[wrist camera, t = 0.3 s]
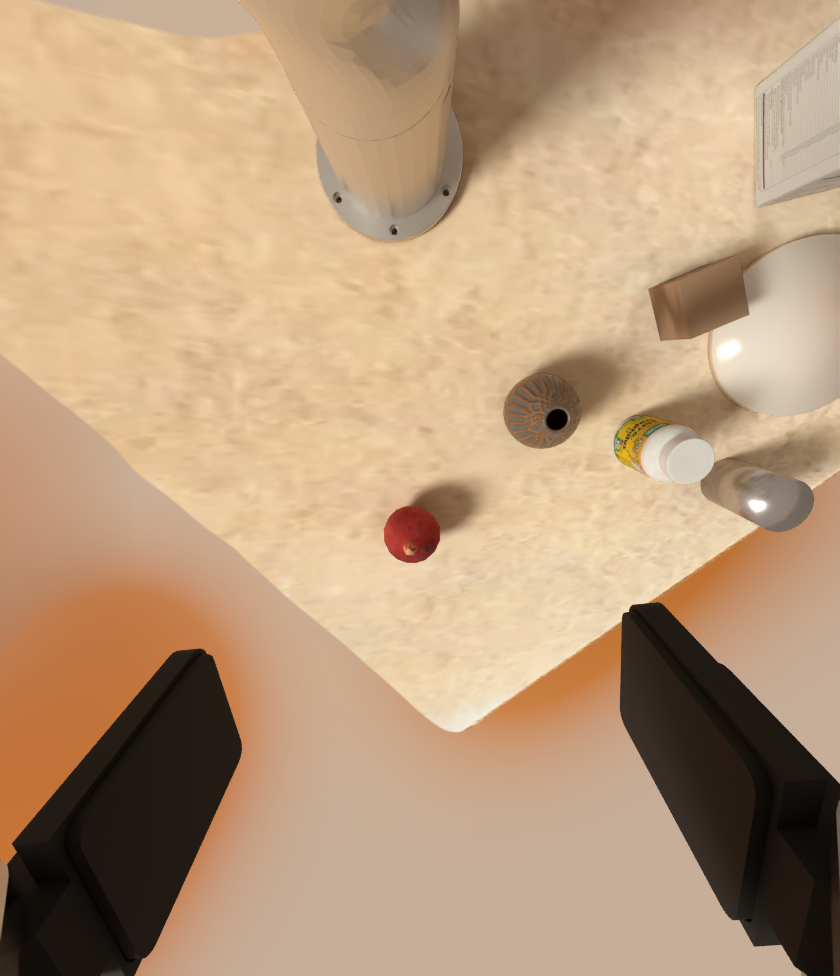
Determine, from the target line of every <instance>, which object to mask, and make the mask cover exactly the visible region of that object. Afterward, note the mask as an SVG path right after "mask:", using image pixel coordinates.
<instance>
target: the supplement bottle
mask: <svg viewBox="0 0 840 976" xmlns="http://www.w3.org/2000/svg"><path fill="white" fill-rule="evenodd" d="M612 450H613V453H614V455H615V457H616V458H617V459H618V460H619V461H620V462H621V463H623V464H625V465H627V466H629V467H631V468H633V469H634V470H636V471H638V472H640V473H642V474H644V475H646V476H648V477H650V478H652V479H654V480H656V481H659V482H663V483H673V482H678V483H681V484H692V483H695V482H698V481H700V480H701V479H703V478H704V477H706V476H707V475H708V473H709V472H710V471H711V469H712V467H713V465H714V462H715V453H714V450H713V447H712V446H711V445H710V444H709V443H708V442H707V441H705V440H703V439H701V438H700V437H699V435H698V434H697V433H696V432H695V431H694V430H692V429H691V428H689V427H687V426H684V425H680V424H676V423H672V422H668V421H665V420H661V419H657V418H653V417H649V416H635V417H631V418H629V419H627V420H625V421H624V422H623V423H622V424H620V426H619V427H618V428H617V429H616V431H615V433H614V435H613V441H612Z"/></svg>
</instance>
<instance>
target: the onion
mask: <svg viewBox="0 0 840 976" xmlns="http://www.w3.org/2000/svg"><path fill="white" fill-rule="evenodd" d="M439 541H440V527H439V525H438V523H437V522H436V520H435V518H434V517H433V516H432V515H431V514H430V513H429V512H428V511H427V510H425V509H423V508H420V507H417V506H405V507H403V508H400V509H398V510H396V511H395V512H394V513H393V514H392V515H391V516H390V517H389V519H388V521H387V523H386V526H385V528H384V542H385V544H386V546H387V548H388V550H389V552H390V553H391V554H392V555H393V556H394V557H395V558H397V559H398V560H401V561H403V562H406V563H417V562H420V561H424V560H426V559H427V558H428V557H429V556H430V555H431V554H432V553H434V552H435V550H436V547H437V545H438V543H439Z"/></svg>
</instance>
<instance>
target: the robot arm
mask: <svg viewBox="0 0 840 976" xmlns="http://www.w3.org/2000/svg"><path fill="white" fill-rule="evenodd" d="M238 1H239V2H240V3H241V4H242V5H243V7H244V8H245V9H246V10H247V11H248V12H249V13H250V14H251V16H252V17H253V18H254V19H255V21H256V22H257V23H258V25H259V26H260V28H261V29H262V31H263V32H264V34H265V36H266V37H267V39H268V41H269V42H270V44H271V46H272V48H273V50H274V52H275V53H276V55H277V57H278V59H279V61H280V63H281V65H282V67H283V69H284V71H285V73H286V75H287V77H288V79H289V81H290V83H291V85H292V87H293V89H294V92H295V94H296V96H297V98H298V100H299V102H300V104H301V106H302V108H303V110H304V112H305V114H306V116H307V118H308V120H309V122H310V124H311V126H312V128H313V130H314V132H315V134H316V136H317V142H316V162H317V167H318V173H319V178H320V181H321V184H322V186H323V189H324V192H325V194H326V196H327V198H328V200H329V202H330V203H331V205H332V207H333V208H334V210H335V211H336V212H337V214H338V215H339V217H340V218H341V219H342V220H343V221H344V222H345V223H346V224H347V225H348V226H349V227H351V228H352V229H354V230H355V231H356V232H358V233H359V234H361V235H363V236H365V237H368V238H370V239H372V240H377V241H382V242H402V241H406V240H411V239H413V238H415V237H417V236H420V235H422V234H424V233H425V232H426V231H428V230H429V229H431V228H432V227H433V226H435V224H436V223H437V222H438V221H439V220H440V219H441V218H442V217H443V216H444V214H445V213H446V211H447V210H448V208H449V207H450V205H451V203H452V201H453V199H454V196H455V194H456V192H457V189H458V186H459V182H460V178H461V172H462V164H463V142H462V137H461V131H460V126H459V123H458V121H457V118H456V115H455V112H454V110H453V108H452V107H451V97H452V88H453V78H454V68H455V59H456V48H457V40H458V29H459V12H460V10H459V0H238ZM444 191H447V192H448V193H449V195H448V196H444V195H443V192H444ZM338 198H341V199H342V201H341V203H337V199H338ZM393 230H397V234H396V235H393V234H392V231H393ZM620 685H621V686H620V712H621V716H622V720H623V723H624V726H625V728H626V729H627V731H628V733H629V735H630V737H631V739H632V741H633V743H634V744H635V746H636V748H637V750H638V752H639V754H640V756H641V758H642V759H643V761H644V763H645V765H646V767H647V769H648V770H649V772H650V774H651V776H652V778H653V780H654V782H655V784H656V785H657V787H658V789H659V791H660V793H661V795H662V797H663V798H664V800H665V802H666V804H667V806H668V808H669V810H670V811H671V813H672V815H673V817H674V819H675V821H676V823H677V824H678V826H679V828H680V830H681V832H682V834H683V836H684V838H685V839H686V841H687V843H688V845H689V847H690V849H691V851H692V852H693V854H694V856H695V858H696V860H697V862H698V864H699V865H700V867H701V869H702V871H703V873H704V875H705V876H706V878H707V880H708V882H709V884H710V886H711V888H712V890H713V892H714V893H715V895H716V897H717V899H718V901H719V903H720V905H721V906H722V908H723V910H724V911H725V913H726V914H727V915H728V917H730V918H731V919H732V920H740V922H741V924H742V926H743V927H744V929H745V931H746V933H747V934H748V936H749V938H750V940H751V942H752V943H753V945H754V946H768V945H769V946H770V945H782V946H783V948H784V950H785V951H786V953H787V955H788V956H789V958H790V960H791V961H792V963H793V965H794V966H795V967H796V968H798V969H799V970H800V971H801V976H840V784H839V783H838V782H837V781H836V779H835V778H834V777H833V776H832V775H831V774H830V773H829V772H828V771H827V770H826V769H825V768H824V767H823V766H822V765H821V764H820V763H819V762H818V761H817V760H816V759H815V758H814V757H813V756H812V755H811V754H810V753H809V752H808V751H807V749H806V748H805V747H804V746H803V745H802V744H801V743H800V742H799V741H798V740H797V739H796V738H795V737H794V736H793V735H792V734H791V733H790V732H789V731H788V730H787V729H786V728H785V727H784V726H783V725H782V724H781V723H780V722H779V721H778V719H776V717H775V716H774V715H773V714H772V713H771V712H770V711H769V710H768V709H767V708H766V707H765V706H764V705H763V704H762V703H761V702H760V701H759V700H758V699H757V698H756V697H755V696H754V695H753V693H752V692H751V691H750V690H749V689H747V687H746V686H745V685H744V684H743V683H742V682H741V681H740V680H739V679H738V678H737V677H736V676H735V675H734V674H733V673H732V672H731V671H730V670H729V669H728V668H726V667H725V666H724V665H723V664H720V663H718V662H717V661H716V660H715V659H714V658H713V657H712V656H711V655H710V654H709V653H708V652H707V650H705V648H704V647H703V646H702V645H701V644H700V643H699V642H698V641H697V640H696V639H695V638H694V637H693V636H692V635H691V634H690V633H689V632H688V631H687V629H686V628H685V627H684V626H683V625H682V624H681V623H680V622H679V621H678V620H677V619H676V618H675V617H674V616H673V615H672V614H671V613H670V612H669V610H667V608H666V607H665V606H664V605H662V604H661V603H658V602H656V603H646V604H637V605H632V606H631V607H630V609H629V612H626V613H623V616H622V643H621V684H620ZM241 751H242V743H241V739H240V737H239V733H238V730H237V728H236V724H235V721H234V719H233V715H232V712H231V709H230V707H229V704H228V701H227V697H226V694H225V691H224V688H223V685H222V682H221V680H220V677H219V673H218V670H217V667H216V664H215V661H214V659H213V657H212V656H211V655H208V654H206V652H205V651H204V650H203V649H191V650H181V651H176V652H174V653H173V654H172V655H170V657H169V658H168V659H167V660H166V661H165V663H164V664H163V665H162V666H161V667H160V668H159V670H158V671H157V672H156V673H155V674H154V676H153V677H152V678H151V679H150V680H149V682H148V683H147V684H146V685H145V686H144V688H143V689H142V690H141V691H140V692H139V693H138V695H137V696H136V697H135V698H134V699H133V700H132V702H131V703H130V704H129V705H128V706H127V708H126V709H125V710H124V711H123V712H122V714H121V715H120V716H119V717H118V718H117V719H116V721H115V722H114V723H113V724H112V726H111V727H110V728H109V729H108V730H107V731H106V733H105V734H104V735H103V736H102V737H101V739H100V740H99V741H98V742H97V744H96V745H95V746H94V747H93V748H92V749H91V750H90V752H89V753H88V754H87V755H86V756H85V758H84V759H83V760H82V761H81V762H80V763H79V765H78V766H77V767H76V768H75V769H74V771H73V772H72V773H71V774H70V775H69V777H68V778H67V779H66V780H65V781H64V782H63V784H62V785H61V786H60V787H59V788H58V790H57V791H56V792H55V793H54V794H53V795H52V797H51V798H50V799H49V800H48V801H47V803H46V804H45V805H44V806H43V807H42V809H41V810H40V811H39V812H38V813H37V814H36V816H35V817H34V818H33V820H31V822H30V823H29V824H28V825H27V826H26V828H25V829H24V830H23V831H22V832H21V834H20V835H19V836H18V837H17V838H16V839H15V841H14V842H13V843H12V845H13V846H14V848H15V850H16V851H17V853H16V854H15V855H14V857H13V858H12V859H11V860H10V862H9V863H8V864H5V863H4V862H3V861H1V860H0V976H134V975H135V973H136V971H137V969H138V967H139V965H140V963H141V960H142V958H146V957H147V956H148V955H149V954H150V953H151V951H152V950H153V948H154V947H155V945H156V943H157V941H158V938H159V936H160V934H161V932H162V929H163V927H164V925H165V923H166V921H167V919H168V916H169V914H170V912H171V910H172V907H173V906H174V903H175V901H176V899H177V897H178V894H179V892H180V890H181V888H182V886H183V883H184V881H185V879H186V877H187V875H188V872H189V870H190V868H191V866H192V864H193V862H194V859H195V857H196V855H197V853H198V850H199V848H200V846H201V844H202V842H203V840H204V837H205V835H206V833H207V831H208V829H209V826H210V824H211V822H212V820H213V817H214V815H215V813H216V811H217V809H218V807H219V804H220V802H221V800H222V798H223V795H224V793H225V791H226V789H227V787H228V785H229V782H230V780H231V778H232V776H233V773H234V771H235V769H236V767H237V765H238V763H239V760H240V757H241Z"/></svg>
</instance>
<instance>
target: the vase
mask: <svg viewBox="0 0 840 976" xmlns="http://www.w3.org/2000/svg"><path fill="white" fill-rule="evenodd" d="M580 417H581V403H580V400H579V397H578V395H577V393H576V391H575V390H574V388H573V387H572V386H571V385H570V384H569V383H568V382H567V381H565V380H564V379H562V378H560V377H557V376H554V375H549V374H538V375H533V376H529V377H527V378H525V379H523V380H521V381H520V382H518V383H517V384H516V385H515V386H514V387H513V388H512V390H511V391H510V392H509V394H508V396H507V398H506V401H505V404H504V421H505V424H506V426H507V429H508V430H509V432H510V433H511V435H512V436H513V437H514V438H515V439H516V440H517V441H519V442H520V443H522V444H524V445H526V446H528V447H532V448H538V449H544V448H551V447H554V446H557V445H559V444H561V443H563V442H564V441H566V440H567V439H568V438H569V437H570V436H571V435H572V434H573V433H574V431H575V430H576V428H577V426H578V424H579V421H580Z"/></svg>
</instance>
